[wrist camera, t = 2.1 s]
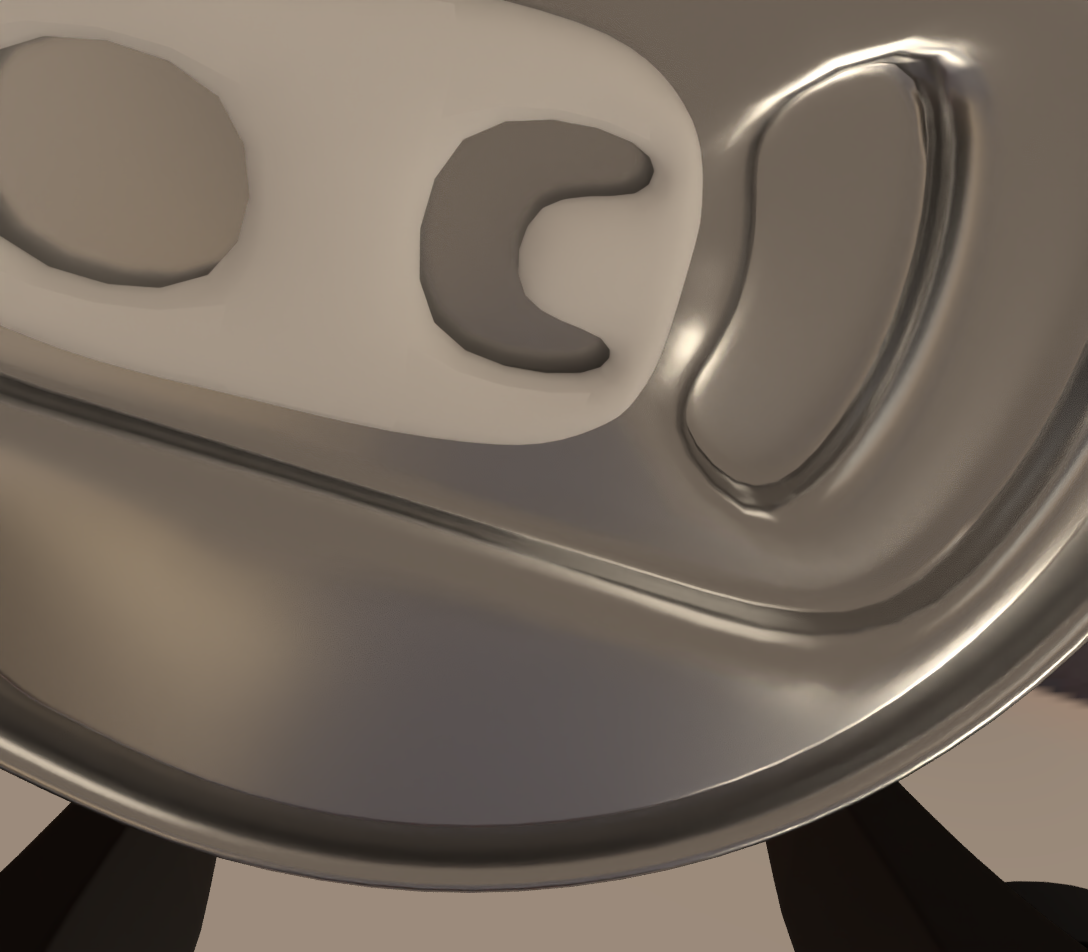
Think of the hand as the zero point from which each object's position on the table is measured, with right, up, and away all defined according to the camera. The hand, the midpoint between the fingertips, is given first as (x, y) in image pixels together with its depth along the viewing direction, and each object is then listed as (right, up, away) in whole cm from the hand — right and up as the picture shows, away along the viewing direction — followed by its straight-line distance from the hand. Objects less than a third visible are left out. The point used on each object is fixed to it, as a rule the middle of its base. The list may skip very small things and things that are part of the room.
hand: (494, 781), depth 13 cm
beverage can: (0, +10, +1) cm, 10 cm away
